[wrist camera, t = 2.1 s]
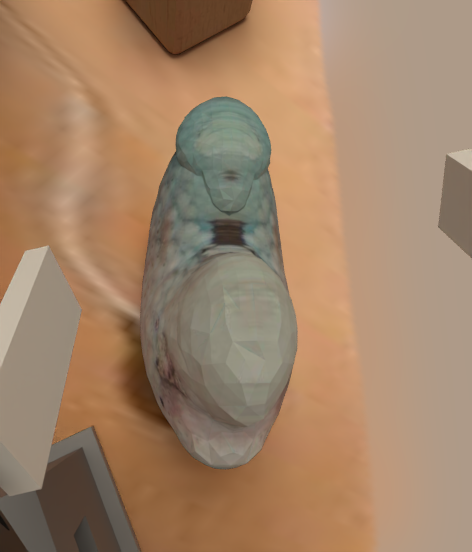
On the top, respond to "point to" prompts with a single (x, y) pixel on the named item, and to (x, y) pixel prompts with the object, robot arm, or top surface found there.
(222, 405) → the grey rounded bird shape
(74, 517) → the bearing block
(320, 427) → the top surface
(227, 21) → the wooden block
